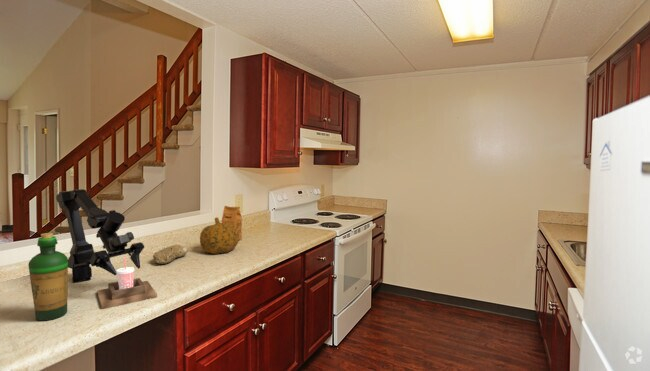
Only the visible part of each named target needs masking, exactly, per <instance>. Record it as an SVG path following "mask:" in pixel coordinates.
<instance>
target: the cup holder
mask: <svg viewBox="0 0 650 371" xmlns="http://www.w3.org/2000/svg"><path fill="white" fill-rule="evenodd" d="M141 279H142V278H140V277H136V278H134V279H133V287H130V288H125V289H120V290H119V283H118V281H115V282H109V283H108V284H107V286H108V287H107V288H102V289H97V290H96V295H97V298H98V300H99V303H100V307H101V310H104V309H109V308H113V307H119V306H124V305H127V304H131V303H135V302H141V301H142V302H143V301H146V299H147V300H150V298H151V299H156V298H158V293H157V292H156V290H155V289H154V287H152V285H151V283H150V282H149V281H148V280H145V281H143V280H141ZM155 297H156V298H155Z"/></svg>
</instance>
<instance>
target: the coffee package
mask: <svg viewBox="0 0 650 371" xmlns="http://www.w3.org/2000/svg"><path fill="white" fill-rule="evenodd" d="M240 209H241V207H240V206H227V205H224V208H223V212H222V215H221V216H222V217H221V223H228V224H231V225H233V226H234V227H235V228H236V229H237V231H238V233H239V241H240V240H242V239H243V233H242V232H243V231H242V230H243V227H242V221H243V217H242V213H241V211H240Z"/></svg>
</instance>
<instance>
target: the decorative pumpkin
mask: <svg viewBox="0 0 650 371" xmlns="http://www.w3.org/2000/svg"><path fill="white" fill-rule="evenodd" d="M214 222H215V224H211V225H210V224H209V225H207V226H204V228H203V229H202V230H201V232H200V236H199V243H200V246H201V249H202V250H203V251H204V252H205V253H208V254H213V255H218V254H222V253H223V254H224V253H226V254H227V253H229V252H231V251H233V250H234V249H235V248H236V246H237V245H238V243H239V241H240V240H239V233H238V231H237V229H236V228H235V227H234V226H233V225H231V224H228V223H222V222H220V219H219V217H218V216H217V217H214Z"/></svg>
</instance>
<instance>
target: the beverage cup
mask: <svg viewBox="0 0 650 371" xmlns="http://www.w3.org/2000/svg"><path fill="white" fill-rule="evenodd" d="M123 261H124V267H120V268H117V269H116V273H117V274H116V275H117V282H118V283H119V290H120V289H125V288H130V287H133V279H135V278H134V277H135V276H134V275H135V274H134V273H135V267H133V266H127V257H126V256H124V260H123Z"/></svg>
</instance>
